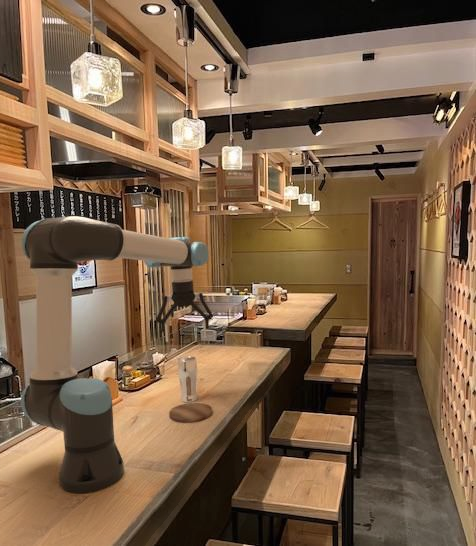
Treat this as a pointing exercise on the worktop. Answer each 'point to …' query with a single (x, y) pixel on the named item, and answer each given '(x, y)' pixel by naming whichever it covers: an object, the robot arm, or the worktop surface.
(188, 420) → the walnut coaster board
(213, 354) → the worktop surface
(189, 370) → the beer glass
